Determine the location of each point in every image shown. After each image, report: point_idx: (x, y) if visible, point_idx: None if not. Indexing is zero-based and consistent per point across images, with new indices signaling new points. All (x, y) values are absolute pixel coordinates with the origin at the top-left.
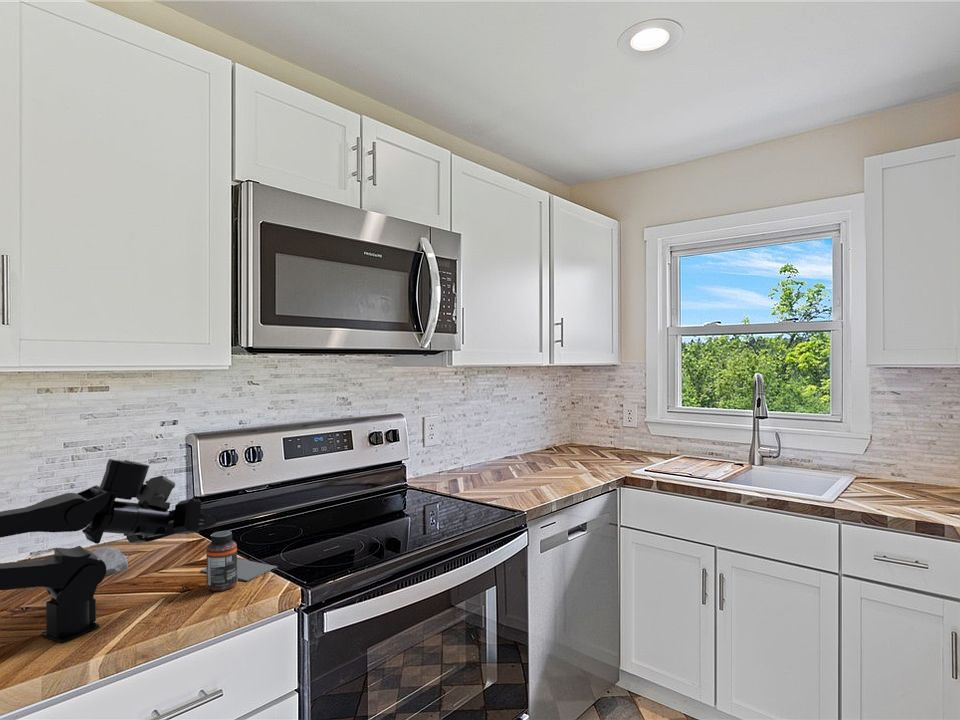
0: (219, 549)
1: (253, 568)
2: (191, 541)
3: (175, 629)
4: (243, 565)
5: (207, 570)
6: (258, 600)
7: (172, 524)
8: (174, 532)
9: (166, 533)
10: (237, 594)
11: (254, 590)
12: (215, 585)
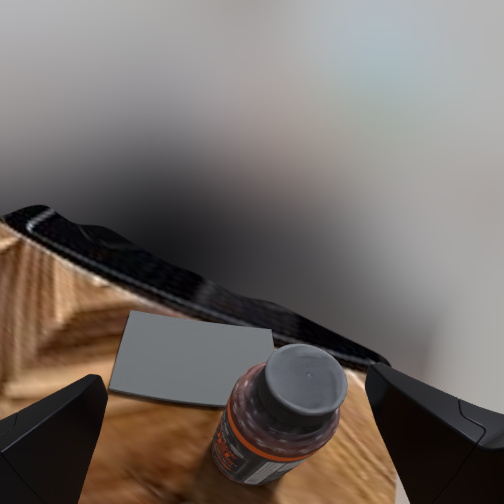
0: (328, 436)
1: (232, 351)
2: (5, 250)
3: None
4: (194, 342)
5: (250, 473)
6: (390, 458)
7: (56, 437)
8: (86, 456)
9: (69, 497)
10: (328, 466)
11: (339, 434)
12: (273, 480)
